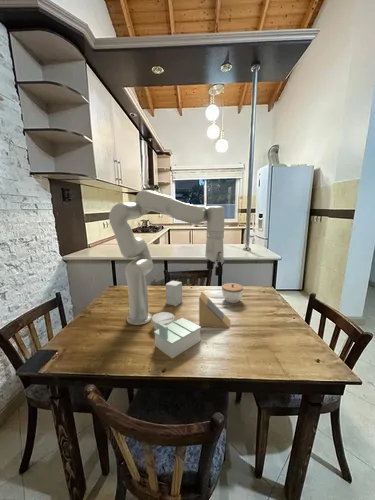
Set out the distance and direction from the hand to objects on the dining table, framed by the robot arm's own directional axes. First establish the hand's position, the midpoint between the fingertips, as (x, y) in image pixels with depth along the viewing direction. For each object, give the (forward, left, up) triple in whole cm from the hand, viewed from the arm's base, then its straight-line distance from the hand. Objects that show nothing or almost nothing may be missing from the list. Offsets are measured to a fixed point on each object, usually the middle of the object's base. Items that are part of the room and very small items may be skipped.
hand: (214, 272), depth 105 cm
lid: (-3, -20, -22) cm, 30 cm away
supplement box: (-35, +6, -29) cm, 46 cm away
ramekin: (-18, -16, -29) cm, 38 cm away
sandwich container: (-3, +5, -29) cm, 30 cm away
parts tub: (-3, -20, -29) cm, 35 cm away
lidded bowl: (-12, +33, -29) cm, 46 cm away
